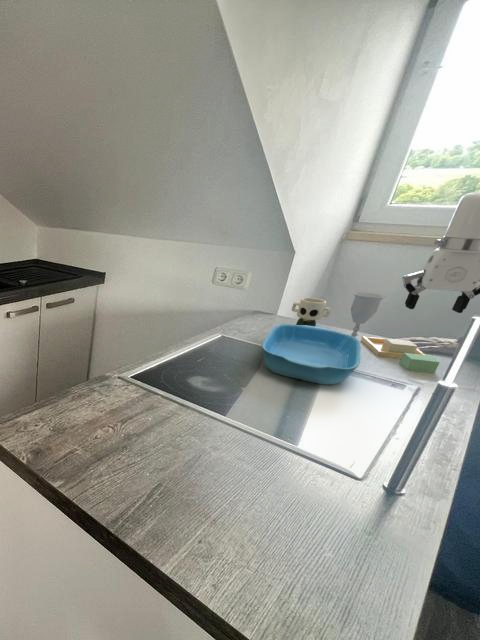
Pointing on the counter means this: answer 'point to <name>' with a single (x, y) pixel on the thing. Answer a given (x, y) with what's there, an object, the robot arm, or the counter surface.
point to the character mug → (310, 311)
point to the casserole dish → (311, 353)
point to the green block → (419, 362)
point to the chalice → (364, 308)
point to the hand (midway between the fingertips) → (432, 309)
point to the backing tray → (376, 346)
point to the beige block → (398, 346)
